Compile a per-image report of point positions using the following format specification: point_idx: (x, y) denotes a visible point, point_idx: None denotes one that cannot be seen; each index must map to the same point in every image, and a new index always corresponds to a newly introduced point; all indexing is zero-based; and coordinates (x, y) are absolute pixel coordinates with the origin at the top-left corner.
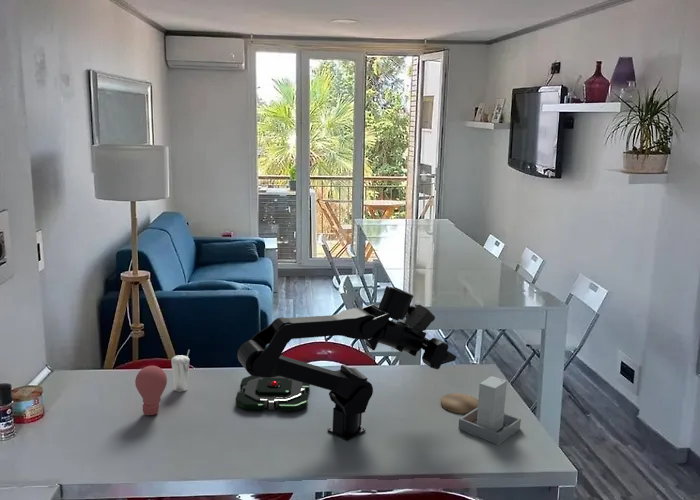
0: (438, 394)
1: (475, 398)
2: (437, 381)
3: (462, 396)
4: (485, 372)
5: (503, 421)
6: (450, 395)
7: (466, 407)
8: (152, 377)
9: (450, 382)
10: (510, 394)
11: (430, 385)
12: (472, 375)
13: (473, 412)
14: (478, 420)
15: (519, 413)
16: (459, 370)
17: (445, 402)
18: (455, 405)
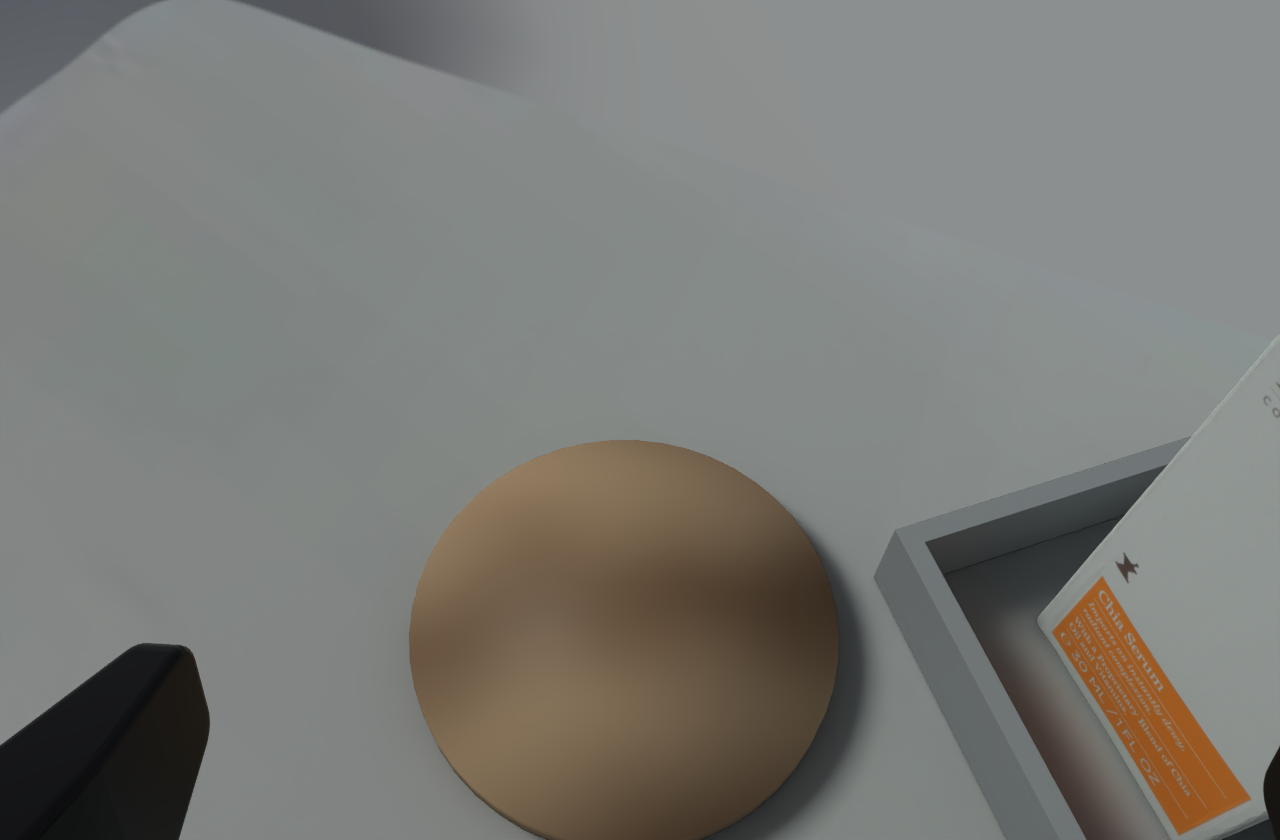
0: (306, 687)
1: (628, 443)
2: (70, 503)
3: (530, 522)
4: (233, 72)
5: (1112, 509)
6: (447, 618)
7: (760, 646)
8: None
9: (177, 409)
10: (652, 155)
11: (85, 627)
12: (204, 175)
13: (1017, 721)
14: (1257, 822)
15: (967, 295)
16: (53, 200)
17: (559, 783)
18: (670, 724)
